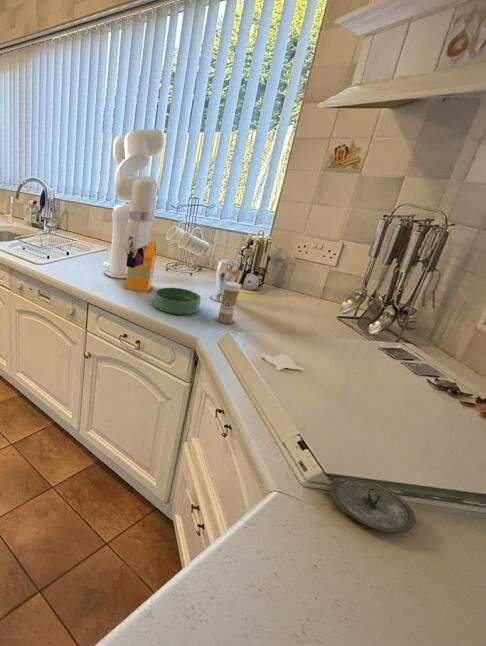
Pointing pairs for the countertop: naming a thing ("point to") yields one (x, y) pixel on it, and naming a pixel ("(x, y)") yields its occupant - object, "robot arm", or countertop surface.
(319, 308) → the countertop surface
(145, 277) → the orange juice
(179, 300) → the bowl
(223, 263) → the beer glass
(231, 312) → the sprinkles bottle
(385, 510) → the lid
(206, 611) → the countertop surface
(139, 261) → the ball
